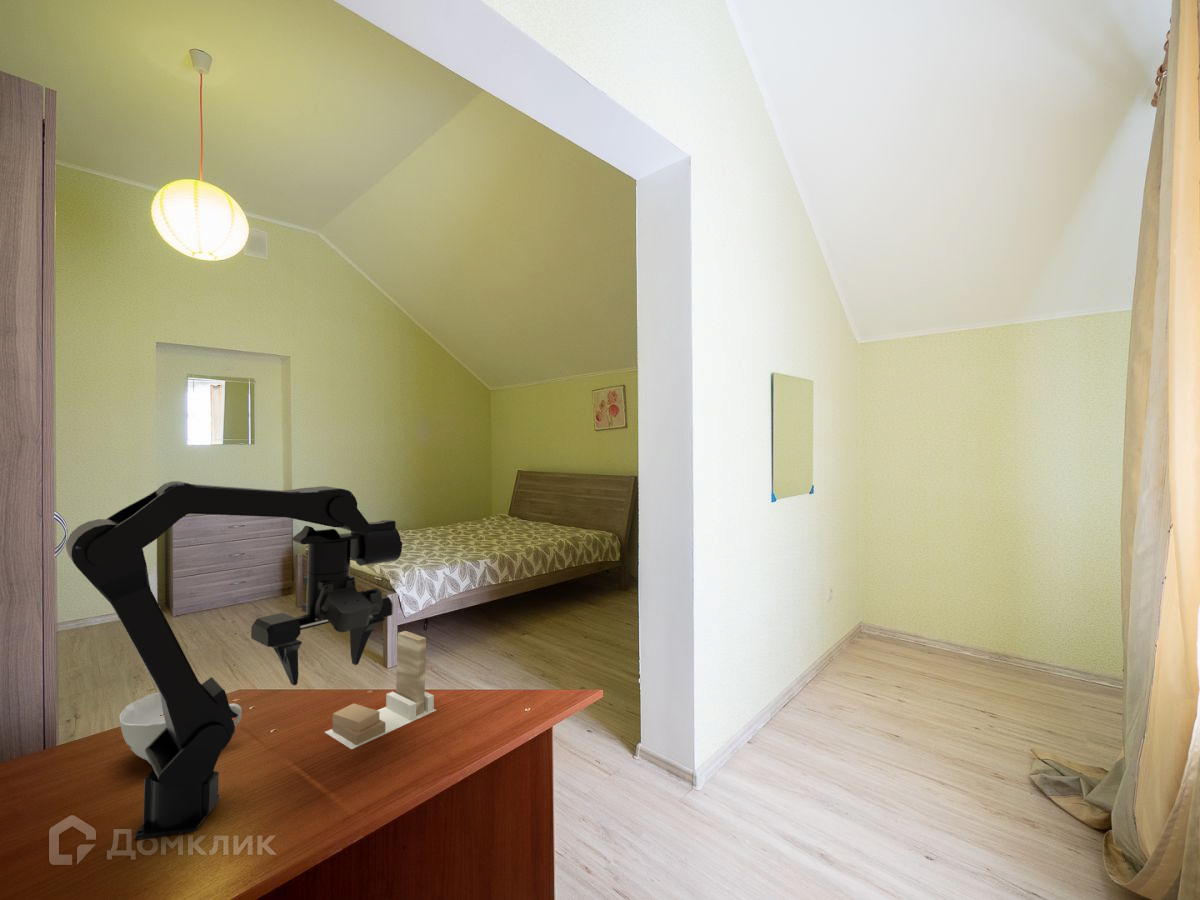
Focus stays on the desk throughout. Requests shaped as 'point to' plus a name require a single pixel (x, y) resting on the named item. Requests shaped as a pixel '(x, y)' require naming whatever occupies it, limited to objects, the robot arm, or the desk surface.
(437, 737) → the desk surface
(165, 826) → the robot arm
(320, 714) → the desk surface
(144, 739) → the teacup
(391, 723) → the offcut rack
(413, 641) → the grey brown wooden board
